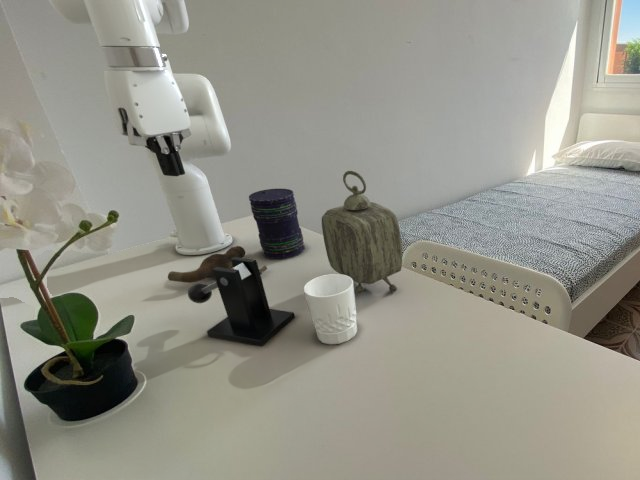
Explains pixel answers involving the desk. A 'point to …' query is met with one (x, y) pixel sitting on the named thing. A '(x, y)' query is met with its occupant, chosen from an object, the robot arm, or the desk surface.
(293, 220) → the dark blue cylinder
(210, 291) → the tap lever
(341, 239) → the tabletop clock
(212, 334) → the bracket
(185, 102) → the robot arm
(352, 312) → the white cup
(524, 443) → the desk surface
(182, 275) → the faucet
